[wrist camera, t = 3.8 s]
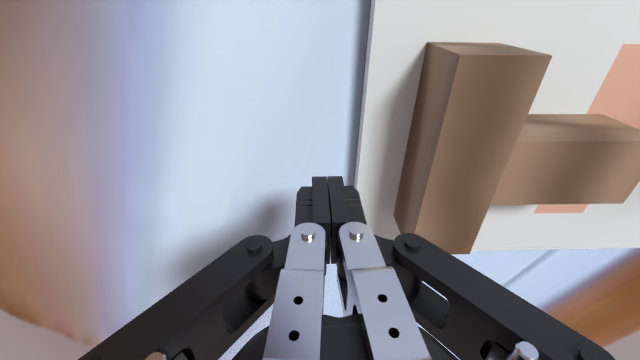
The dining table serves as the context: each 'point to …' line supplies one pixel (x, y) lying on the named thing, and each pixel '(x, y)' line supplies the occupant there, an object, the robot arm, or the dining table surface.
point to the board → (552, 98)
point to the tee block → (500, 145)
